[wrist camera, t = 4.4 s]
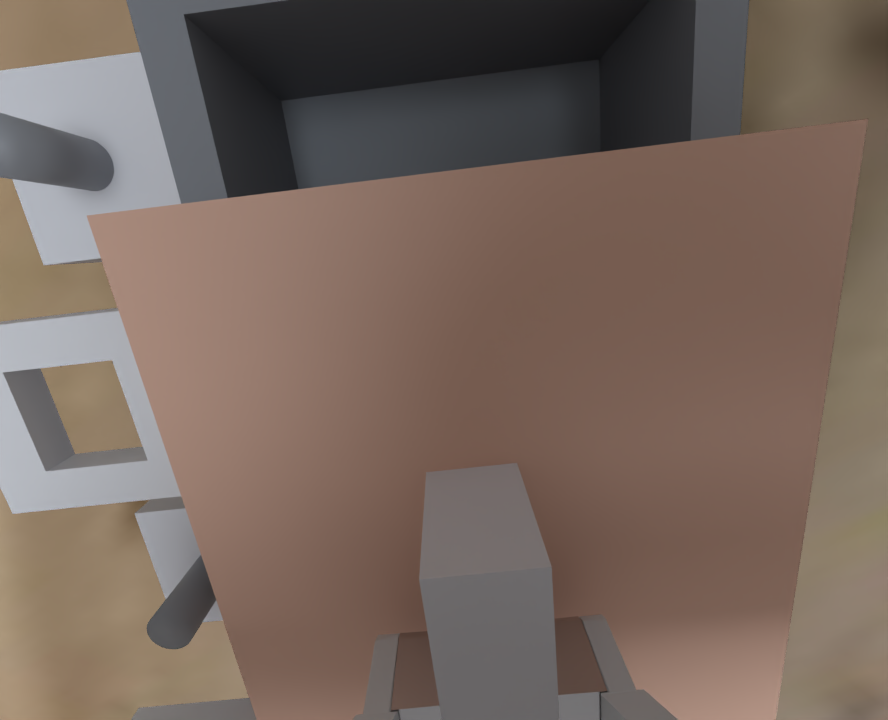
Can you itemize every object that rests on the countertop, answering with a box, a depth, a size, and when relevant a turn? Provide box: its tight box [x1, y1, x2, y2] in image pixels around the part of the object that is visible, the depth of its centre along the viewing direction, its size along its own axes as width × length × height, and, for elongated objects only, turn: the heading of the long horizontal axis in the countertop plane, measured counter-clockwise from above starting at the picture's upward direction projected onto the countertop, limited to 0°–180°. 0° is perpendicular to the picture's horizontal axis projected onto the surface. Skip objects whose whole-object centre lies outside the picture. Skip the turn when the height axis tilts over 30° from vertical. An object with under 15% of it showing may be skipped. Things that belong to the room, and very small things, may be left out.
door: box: [0, 119, 868, 720], centre depth 9 cm, size 20×18×4 cm
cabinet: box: [0, 0, 749, 649], centre depth 14 cm, size 20×18×9 cm
